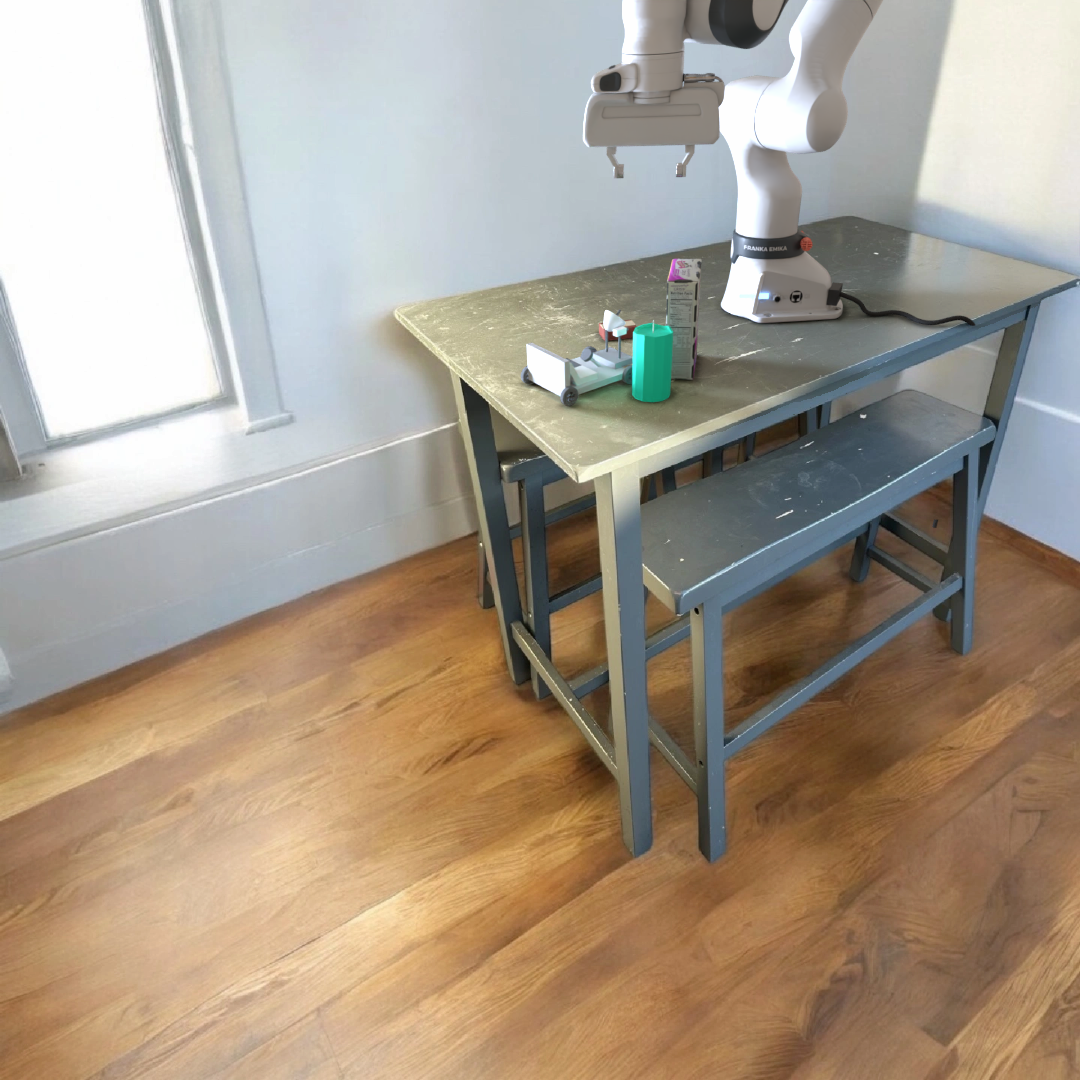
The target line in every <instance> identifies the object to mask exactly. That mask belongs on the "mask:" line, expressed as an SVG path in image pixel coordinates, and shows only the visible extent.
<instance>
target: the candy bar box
mask: <svg viewBox="0 0 1080 1080" xmlns="http://www.w3.org/2000/svg"><path fill="white" fill-rule="evenodd" d="M702 260H703V259H701V258H680V257H679V258H673V259H672V260H671V264H670V269H669V272H668V276H667V280H666V285H667V286H666V308H665V309H666V310H665V311H666V312H665V313H666V318H665V326H670V327H671V329H672V330H673V350H672V371H671V381H672V380H673V381H693V380H694V379H695V371H696V364H697V358H698V357H697V356H698V339H699V336H698V335H699V333H698V332H699V318H700V317H699V316H700V297H701V280H702V279H701V278H702Z"/></svg>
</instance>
